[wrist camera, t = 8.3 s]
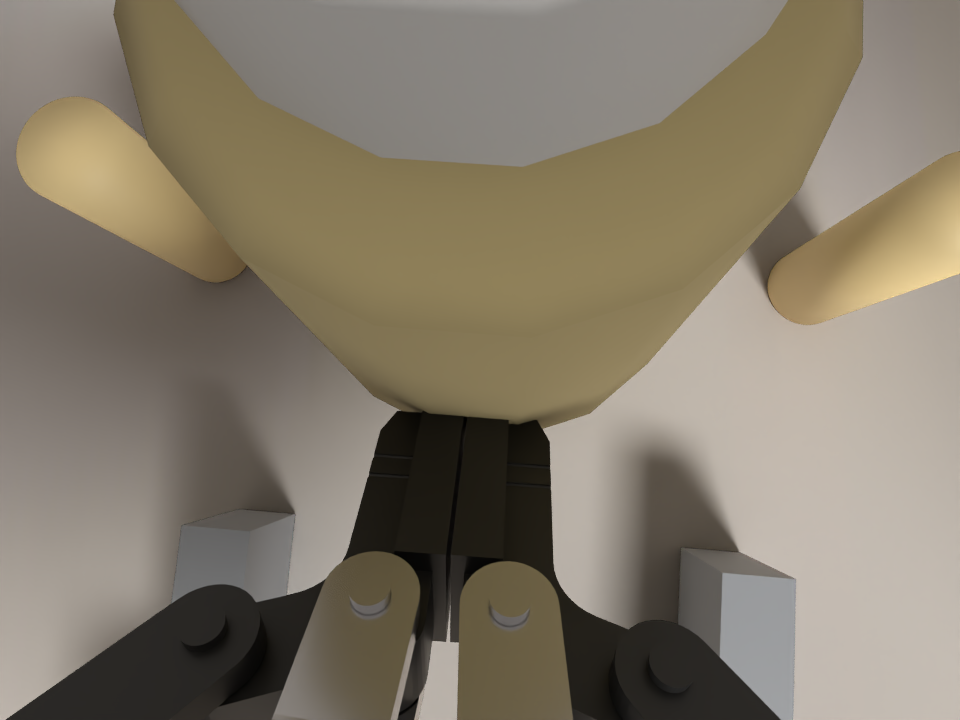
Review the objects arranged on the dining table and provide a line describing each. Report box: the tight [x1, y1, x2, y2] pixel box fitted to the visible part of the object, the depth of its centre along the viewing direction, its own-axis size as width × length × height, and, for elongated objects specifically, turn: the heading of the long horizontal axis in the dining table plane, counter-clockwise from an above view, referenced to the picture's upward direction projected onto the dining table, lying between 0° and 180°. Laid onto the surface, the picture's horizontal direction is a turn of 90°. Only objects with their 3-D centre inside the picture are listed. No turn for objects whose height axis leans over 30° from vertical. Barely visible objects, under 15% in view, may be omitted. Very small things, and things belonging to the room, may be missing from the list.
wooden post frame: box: [16, 97, 960, 720], centre depth 13 cm, size 18×18×6 cm
